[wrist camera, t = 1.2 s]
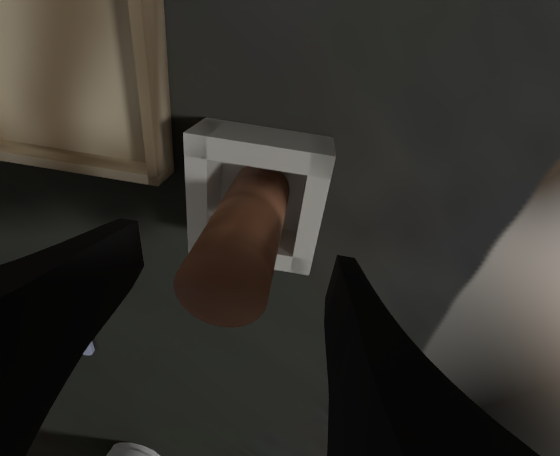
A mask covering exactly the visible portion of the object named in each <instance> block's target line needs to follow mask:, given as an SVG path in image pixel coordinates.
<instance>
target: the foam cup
mask: <svg viewBox="0 0 560 456" xmlns="http://www.w3.org/2000/svg"><path fill="white" fill-rule="evenodd" d="M106 456H160V455H159V454H157V453H156V452H155V451H154V450H152V449H149V448H147V447H145V446H143V445H139V444H135V443H127V442H120V443H117V444H114V445H113V447H112V449H111V450H110V451H109V452H108V454H107V455H106Z"/></svg>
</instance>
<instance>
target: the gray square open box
mask: <svg viewBox="0 0 560 456" xmlns="http://www.w3.org/2000/svg"><path fill="white" fill-rule="evenodd" d="M183 143H184V165H185V188H186V210H187V232H188V254H189V252H190V250H191V249H192V247H193V246H194V244H195V242H196V241H197V239H198V238H199V236H200V234H201V233H202V231H203V230H204V228H205V226H206V225H207V223H208V222H209V220H210V218H211V217H212V215H213V213H214V212H215V210H216V209H217V207H218V205H219V204H220V202H221V201H222V199H223V197H224V196H225V194H226V193H227V191H228V189H229V188H230V186H231V185H232V183H233V181H234V180H235V178H236V176H237V175H238V173H239V172H240V171H241V170H242V169H243V168H244V167H246V166H251V167H257V168H263V169H270V170H276V171H281V172H282V173H283V174H284V176H285V177H286V179H287V181H288V184H289V190H290V192H289V198H288V203H287V208H286V213H285V218H284V223H283V228H282V233H281V238H280V243H279V247H278V252H277V257H276V262H275V267H274V270H280V271H286V272H292V273H298V274H304V275H309V273H310V269H311V264H312V260H313V255H314V251H315V247H316V242H317V238H318V233H319V229H320V225H321V220H322V216H323V211H324V207H325V202H326V198H327V194H328V189H329V185H330V180H331V176H332V172H333V167H334V163H335V158H336V154H335V146H334V139H333V137H329V136H323V135H316V134H310V133H303V132H297V131H290V130H284V129H277V128H271V127H265V126H258V125H252V124H245V123H239V122H232V121H226V120H219V119H213V118H204V119H203V120H201V121H200V122H198V123H197V124H195V125H194V126H192V127H191V128H189V129H188V130H186V131H185V132H183Z"/></svg>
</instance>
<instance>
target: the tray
mask: <svg viewBox="0 0 560 456" xmlns="http://www.w3.org/2000/svg"><path fill="white" fill-rule="evenodd" d="M0 161H5V162H12V163H18V164H24V165H30V166H36V167H42V168H49V169H55V170H61V171H67V172H73V173H79V174H85V175H92V176H98V177H104V178H110V179H116V180H122V181H128V182H135V183H141V184H147V185H153V186H159V185H160V184H162V183H163V182H164V181H165V180H166V179H167V178H168V177H169V176H171V175H172V174H173V173H174V172H175V171H174V155H173V140H172V124H171V108H170V92H169V77H168V61H167V45H166V30H165V14H164V0H0Z"/></svg>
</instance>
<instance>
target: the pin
mask: <svg viewBox="0 0 560 456" xmlns="http://www.w3.org/2000/svg"><path fill="white" fill-rule="evenodd" d="M289 192H290V190H289V184H288V181H287V179H286V177H285V176H284V174H283V173H282V172H281V171H276V170H270V169H263V168H257V167H251V166H246V167H244V168H243V169H242V170H241V171H240V172H239V173H238V175H237V176H236V178H235V180H234V181H233V183H232V185H231V186H230V188H229V189H228V191H227V193H226V194H225V196H224V197H223V199H222V201H221V202H220V204H219V205H218V207H217V209H216V210H215V212H214V213H213V215H212V217H211V218H210V220H209V222H208V223H207V225H206V226H205V228H204V230H203V231H202V233H201V234H200V236H199V238H198V239H197V241H196V242H195V244H194V246H193V247H192V249H191V250H190V252H189V254H188V255H187V257H186V258H185V260H184V262H183V263H182V265H181V267H180V268H179V270H178V271H177V273H176V275H175V279H174V290H175V294H176V296H177V298H178V300H179V302H180V303H181V305H182V306H183V307H184V308H185V309H186V310H187V311H188V312H189V313H190V314H192V315H193V316H195V317H196V318H198V319H200V320H202V321H204V322H206V323H209V324H212V325H216V326H220V327H240V326H244V325H247V324H250V323H252V322H254V321H255V320H257V319H258V318H259V317H260V316H261V315H262V314H263V312H264V311H265V309H266V306H267V301H268V297H269V292H270V287H271V282H272V277H273V272H274V267H275V262H276V257H277V252H278V247H279V243H280V238H281V233H282V228H283V223H284V218H285V213H286V208H287V203H288V198H289Z"/></svg>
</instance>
